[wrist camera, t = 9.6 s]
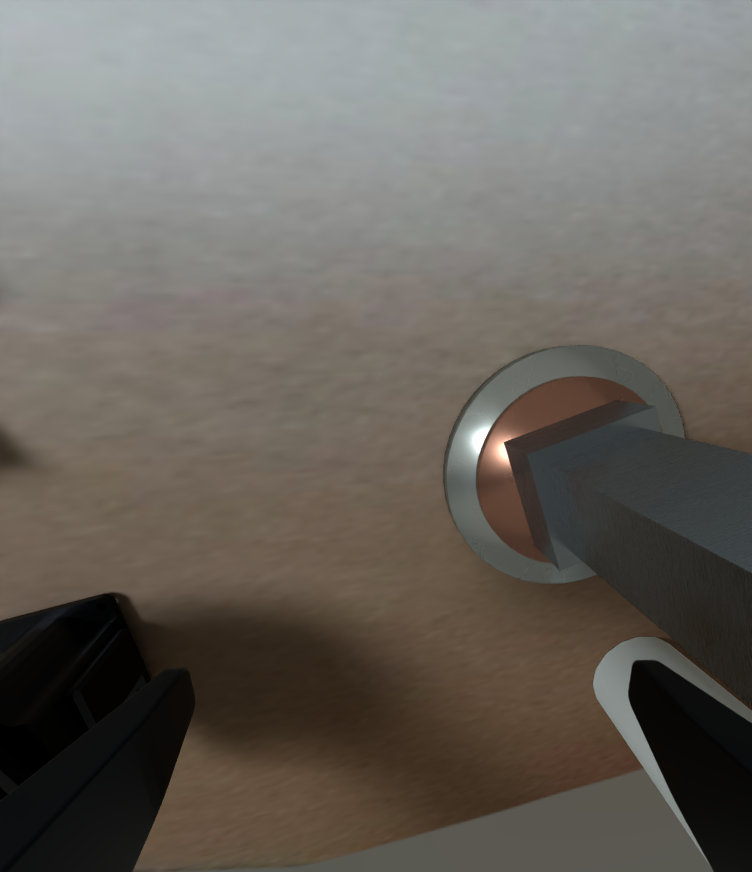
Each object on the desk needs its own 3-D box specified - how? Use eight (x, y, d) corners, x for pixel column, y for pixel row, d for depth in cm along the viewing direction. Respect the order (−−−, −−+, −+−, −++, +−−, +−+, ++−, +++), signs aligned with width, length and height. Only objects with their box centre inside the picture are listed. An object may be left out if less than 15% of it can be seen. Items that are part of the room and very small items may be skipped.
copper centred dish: (467, 600, 22) (475, 615, 21) (419, 380, 20) (425, 381, 18) (680, 543, 23) (700, 554, 21) (663, 318, 20) (685, 316, 19)
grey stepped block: (534, 545, 21) (786, 796, 9) (503, 442, 19) (751, 576, 8) (639, 505, 21) (1031, 703, 9) (616, 399, 19) (1039, 467, 8)
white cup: (570, 710, 25) (719, 944, 15) (610, 620, 23) (800, 808, 14) (660, 727, 26) (857, 957, 16) (703, 641, 24) (944, 831, 15)
